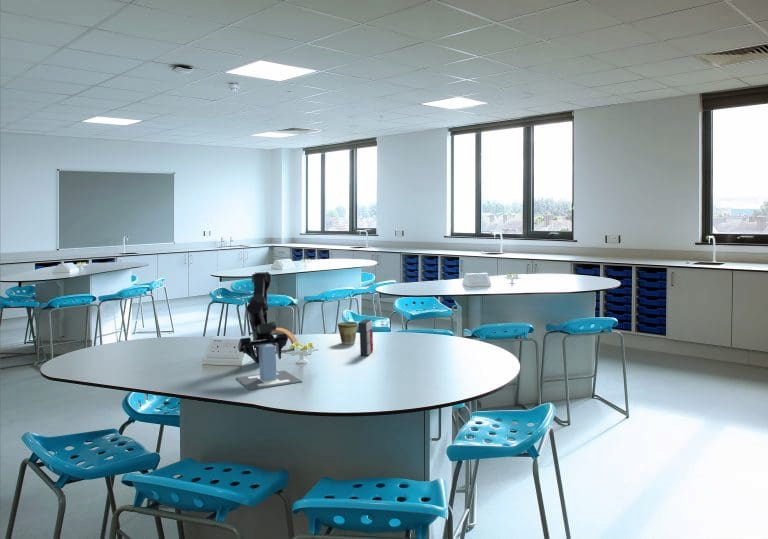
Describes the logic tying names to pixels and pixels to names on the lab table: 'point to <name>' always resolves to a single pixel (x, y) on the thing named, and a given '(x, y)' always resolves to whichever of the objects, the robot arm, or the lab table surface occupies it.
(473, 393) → the lab table surface
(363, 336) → the black and red box
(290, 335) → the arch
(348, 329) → the ceramic cup
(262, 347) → the blue block
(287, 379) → the letter mat
